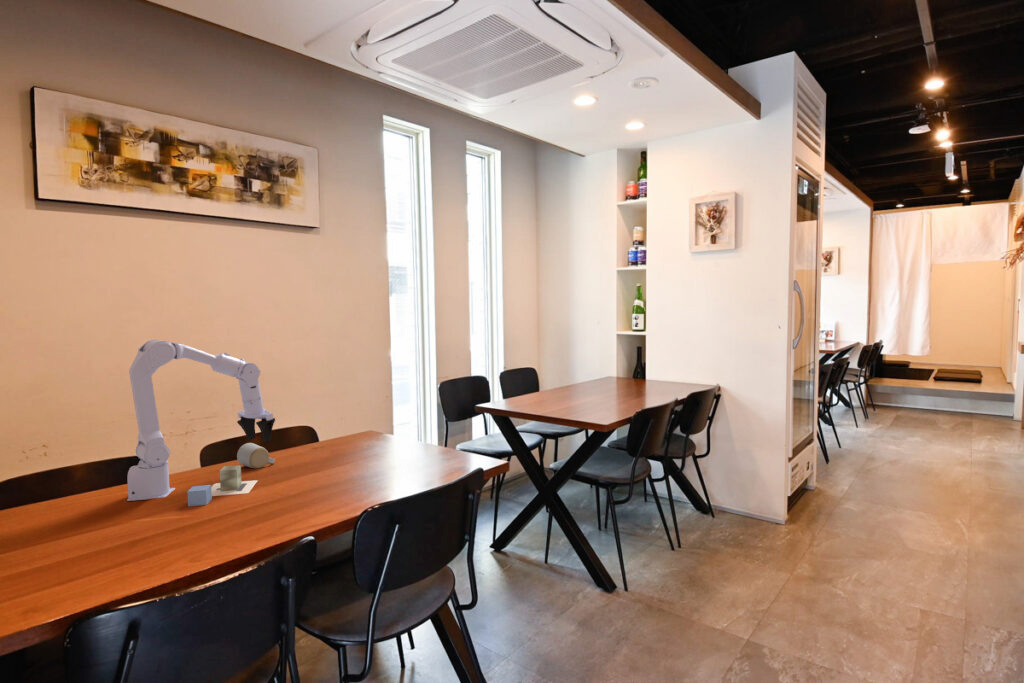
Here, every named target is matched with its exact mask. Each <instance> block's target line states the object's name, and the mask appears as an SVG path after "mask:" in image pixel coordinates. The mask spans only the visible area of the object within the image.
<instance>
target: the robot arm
mask: <svg viewBox="0 0 1024 683" xmlns="http://www.w3.org/2000/svg"><path fill="white" fill-rule="evenodd" d="M184 358H185V359H187V360H190V361H195V362H198V363H202V364H206V365H209V366H210V368H211V370H212V371H213V372H216V373H219V374H223V375H226V376H229V377H232V378H235V379H236V380H238V384H239V391H240V396H241V402H242V407H243V410H241V411H239V412H237V418H238V419H239V420H236V421H237V424H238V425H239V426H240V427H241V429H242V430H243V431H244V434H245V436H246V439H247V440H248V441H252V440H254V439H256V427H255V426H256V425H257V427H258V429H259V431H260V433H261V436H262V439H263V440H262V441H263V443H267V442H269V441H271V440H272V433H273V426H274V424H275V423H276V417H274V414H273V412H270V411H268V409H267V408H265V407H264V402H263V397H262V391H261V384H260V381H259V378H260V376H261V369H260V368H259V367H258V366H257V364H255V363H253V362H247V361H246V360H245V359H244V358H236V357H235V356H234V357H233V356H231V354H230V353H227V352H224V353H218V354H215V355H214V354H211V353H208V352H206V351H203V350H200V349H197V348H194V347H192V346H189V345H186V344H182V343H181V344H180V343H176V342H170V341H169V340H168V341H166V340H159V339H151V340H148V341H146V342H145V343H144V344H143V345H141V346H140V347H139V348H138V349H137V354H136V356H135V357H134V360H133V361H132V363H131V365H130V367H129V370H128V374H129V379H130V387H131V393H132V397H133V398H132V399H133V404H134V411H135V416H136V417H135V418H136V421H137V429H138V434H137V445H136V447H135V453H136V457H138V459H140V460H139V461H138V463H137V465H133V466H130V467H129V469H128V471H127V480H126V481H127V495H128V498H127V499H126V500H127V502H130V501H143V500H144V501H145V500H149V499H161V498H162V499H163V498H167V497H168V496H169V495H170V494H171V493H172V492H173V491H174V490H176V487H170V473H169V471H170V470H169V457H170V455H171V452H170V448H169V446H168V445H167V444H166V443H165V438H164V436H163V433H162V431H161V429H160V428H161V427H160V421H159V415H158V409H157V403H156V397H155V396H156V395H155V391H154V384H153V383H154V382H153V379H152V378H153V377H152V376H153V375H154V373H156V372H157V371H158V370H159V368H161V367H163V366H165V365H166V364H168V363H170V362H171V361H173V360H180V359H184ZM256 420H258V421H256Z"/></svg>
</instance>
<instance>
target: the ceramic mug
mask: <svg viewBox="0 0 1024 683" xmlns="http://www.w3.org/2000/svg"><path fill="white" fill-rule="evenodd" d="M236 458H237V461H238V463H239V465H241V466H244V467H248V468H251V469H261V468H264V467H266V465H267V464H272V465H273V464H275V461H276V458H273V457H270V453H269V451H268V450H267V449H266V448H265V447H263V446H260V445H258V444H256V443H253V442H246V443H244V444H242V445H241V446H240V447H239V449H238V450H237V453H236Z"/></svg>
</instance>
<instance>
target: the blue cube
mask: <svg viewBox="0 0 1024 683" xmlns="http://www.w3.org/2000/svg"><path fill="white" fill-rule="evenodd" d="M211 487H212V485H211V484H206V485H205V484H204V485H194V486H192V487H191V488H189V490H188V491H187V506H188V507H195V506H207V505H208V504H209V503H210V502H211V501H212V499H213V496H212V492H211Z"/></svg>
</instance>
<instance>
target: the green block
mask: <svg viewBox="0 0 1024 683" xmlns="http://www.w3.org/2000/svg"><path fill="white" fill-rule="evenodd" d="M219 480H220V481H219V483H220V488H221V491H229V490H238V489H239V488H240V486H241V485H242V484H241V481H242V465H241V464H239V465H238V464H236V465H224V466H223V467H222V468H221V469H220V470H219Z"/></svg>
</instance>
